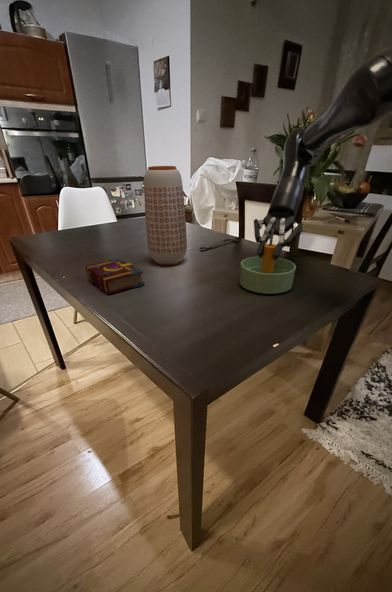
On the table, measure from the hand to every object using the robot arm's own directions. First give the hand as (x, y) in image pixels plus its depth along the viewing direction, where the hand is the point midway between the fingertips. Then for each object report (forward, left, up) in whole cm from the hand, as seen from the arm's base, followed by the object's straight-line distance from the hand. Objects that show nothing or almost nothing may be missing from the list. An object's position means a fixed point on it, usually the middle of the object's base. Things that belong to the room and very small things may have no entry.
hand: (267, 257), depth 76 cm
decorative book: (+44, 0, -9) cm, 45 cm away
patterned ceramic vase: (+31, -20, -9) cm, 38 cm away
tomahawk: (+15, -41, -9) cm, 44 cm away
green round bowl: (-1, -2, -9) cm, 9 cm away
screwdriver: (-1, -2, -4) cm, 5 cm away
